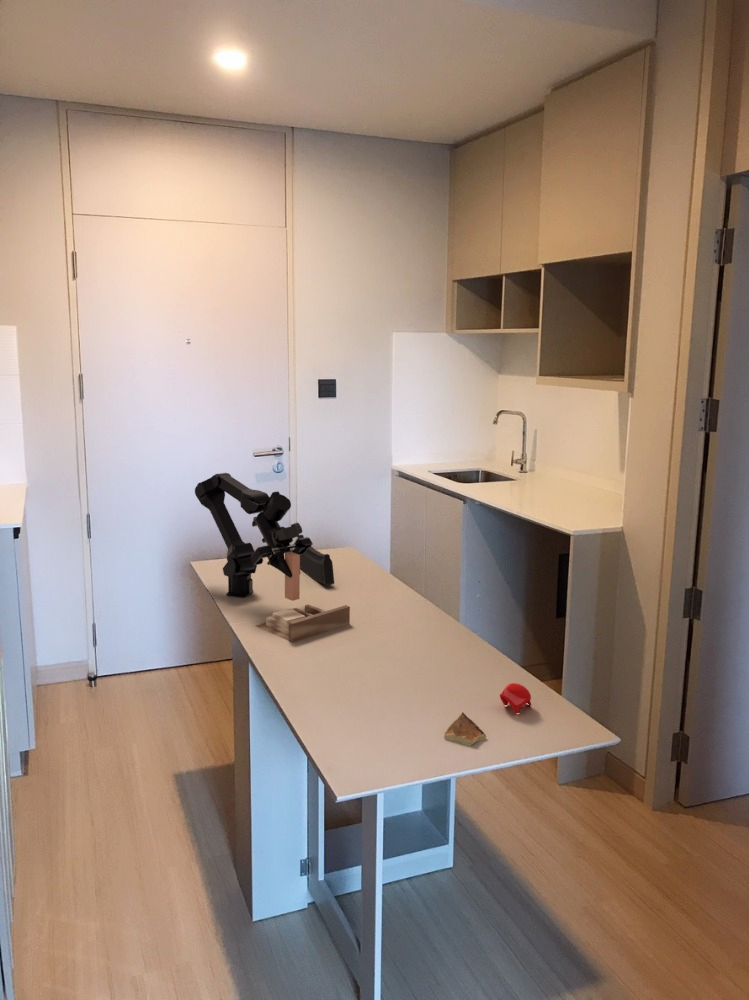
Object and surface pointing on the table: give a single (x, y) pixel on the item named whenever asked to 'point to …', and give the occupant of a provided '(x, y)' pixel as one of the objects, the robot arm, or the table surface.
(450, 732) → the shard
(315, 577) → the magazine
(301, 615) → the rack
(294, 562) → the block
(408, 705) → the table surface
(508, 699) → the red legged dome
